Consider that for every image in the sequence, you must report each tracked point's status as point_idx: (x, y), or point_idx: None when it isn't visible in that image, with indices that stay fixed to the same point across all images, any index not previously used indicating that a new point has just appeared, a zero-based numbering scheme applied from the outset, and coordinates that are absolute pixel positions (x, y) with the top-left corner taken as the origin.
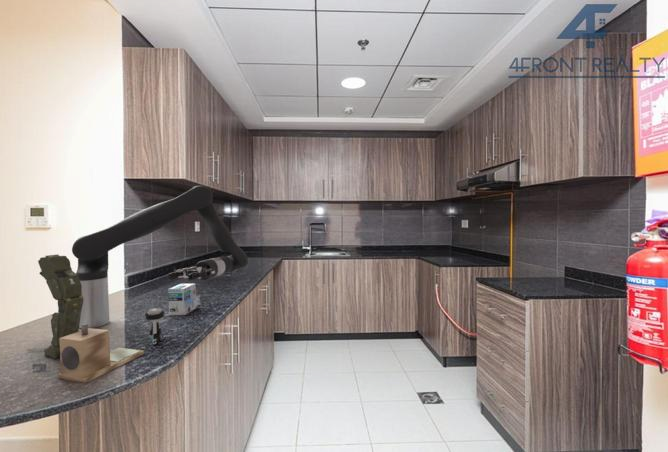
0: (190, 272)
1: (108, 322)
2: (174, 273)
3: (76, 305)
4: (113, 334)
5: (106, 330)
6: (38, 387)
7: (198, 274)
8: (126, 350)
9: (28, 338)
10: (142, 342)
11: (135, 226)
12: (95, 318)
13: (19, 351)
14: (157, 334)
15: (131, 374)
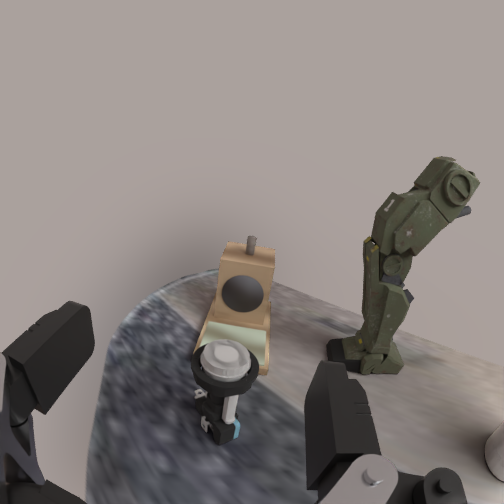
0: None
1: (496, 475)
2: (325, 410)
3: (368, 262)
4: (397, 444)
5: (224, 258)
6: (269, 294)
7: (7, 359)
8: None
9: (498, 380)
10: (253, 417)
11: None
12: (499, 433)
13: (442, 353)
14: (202, 399)
15: (162, 308)
